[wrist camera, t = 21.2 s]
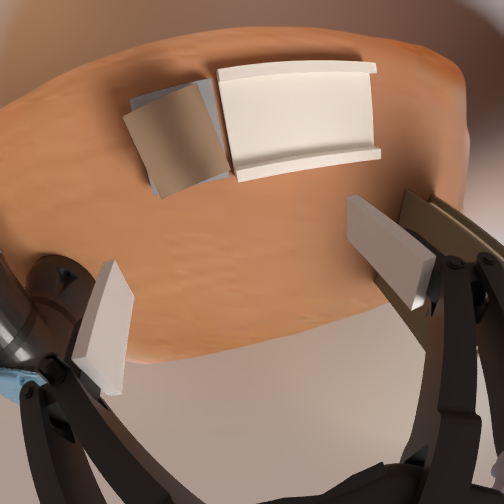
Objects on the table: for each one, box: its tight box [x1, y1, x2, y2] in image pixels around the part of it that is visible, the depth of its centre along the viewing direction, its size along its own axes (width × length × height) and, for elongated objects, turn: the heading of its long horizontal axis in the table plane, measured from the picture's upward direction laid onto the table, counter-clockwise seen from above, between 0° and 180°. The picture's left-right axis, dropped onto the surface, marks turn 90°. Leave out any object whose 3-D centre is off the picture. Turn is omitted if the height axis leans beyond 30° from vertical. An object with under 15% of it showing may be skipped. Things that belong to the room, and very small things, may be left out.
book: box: [374, 190, 504, 358], centre depth 40 cm, size 22×9×28 cm, turn 174°
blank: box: [123, 83, 231, 199], centre depth 28 cm, size 8×10×6 cm
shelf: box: [216, 60, 381, 182], centre depth 34 cm, size 22×15×3 cm
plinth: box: [129, 78, 229, 196], centre depth 32 cm, size 10×13×3 cm
